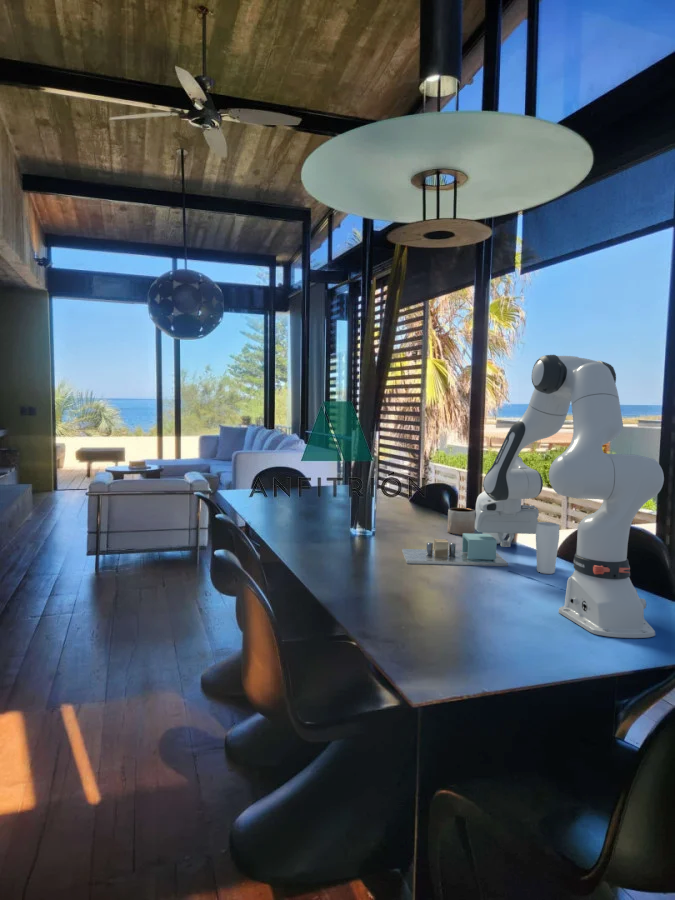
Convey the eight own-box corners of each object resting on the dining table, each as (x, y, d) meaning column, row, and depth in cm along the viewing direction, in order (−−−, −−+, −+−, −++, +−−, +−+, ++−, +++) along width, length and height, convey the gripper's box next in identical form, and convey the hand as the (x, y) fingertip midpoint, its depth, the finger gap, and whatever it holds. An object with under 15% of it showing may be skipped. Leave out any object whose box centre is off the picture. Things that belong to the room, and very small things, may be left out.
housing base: (507, 566, 186) (508, 550, 186) (406, 563, 187) (407, 547, 186) (495, 554, 202) (495, 539, 202) (402, 551, 202) (402, 537, 202)
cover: (496, 559, 189) (496, 540, 188) (468, 558, 189) (468, 539, 189) (488, 552, 199) (489, 534, 198) (462, 551, 199) (462, 533, 199)
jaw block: (447, 557, 192) (448, 542, 192) (435, 556, 192) (436, 541, 192) (445, 554, 196) (446, 539, 196) (433, 553, 196) (434, 539, 196)
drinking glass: (559, 576, 176) (561, 526, 175) (535, 574, 177) (537, 525, 176) (555, 570, 182) (557, 522, 181) (532, 568, 184) (534, 521, 183)
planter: (477, 536, 232) (478, 512, 232) (449, 535, 233) (450, 511, 232) (471, 530, 243) (472, 507, 243) (445, 530, 243) (445, 507, 243)
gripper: (535, 504, 196) (534, 545, 197) (474, 502, 196) (472, 543, 197) (542, 507, 189) (540, 549, 190) (478, 505, 190) (476, 547, 191)
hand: (505, 546), depth 194 cm, fingers closed
